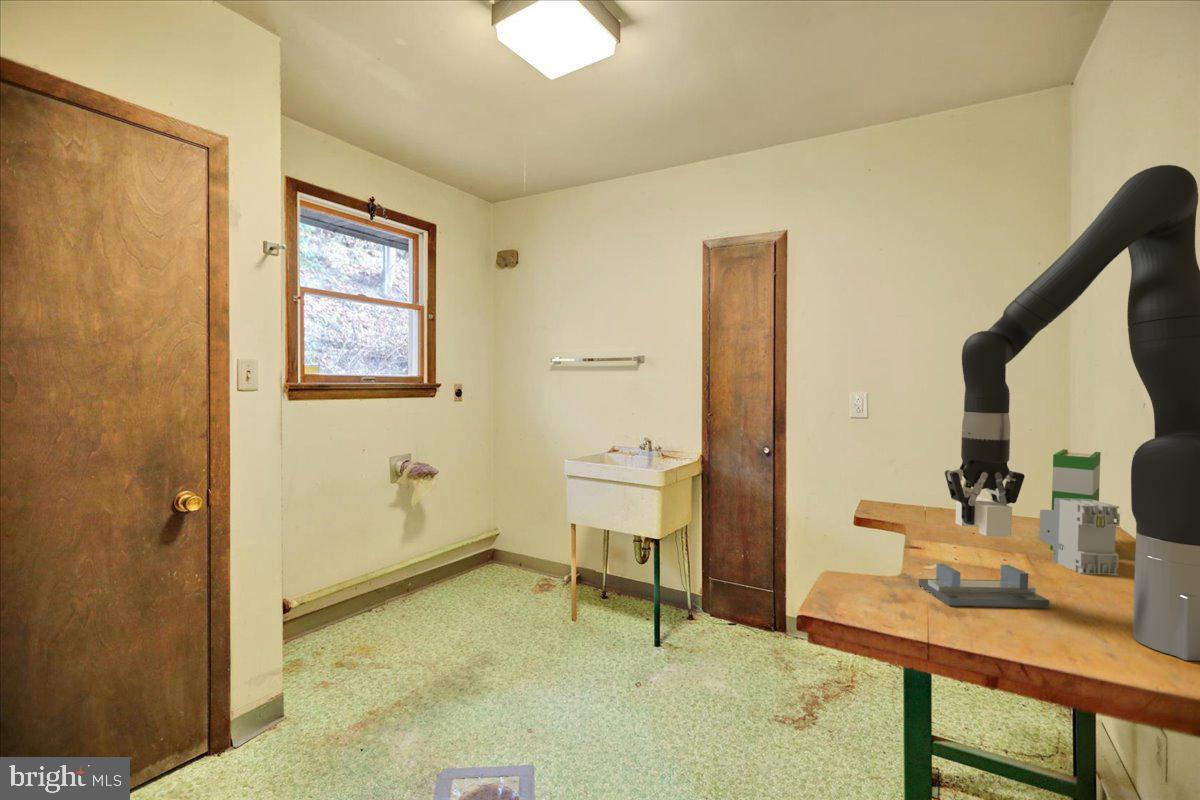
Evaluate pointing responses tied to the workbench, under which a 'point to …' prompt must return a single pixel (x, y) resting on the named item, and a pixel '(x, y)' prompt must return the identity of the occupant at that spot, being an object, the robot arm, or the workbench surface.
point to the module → (989, 517)
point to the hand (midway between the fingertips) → (982, 523)
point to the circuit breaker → (1081, 534)
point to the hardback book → (1075, 476)
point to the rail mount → (984, 589)
